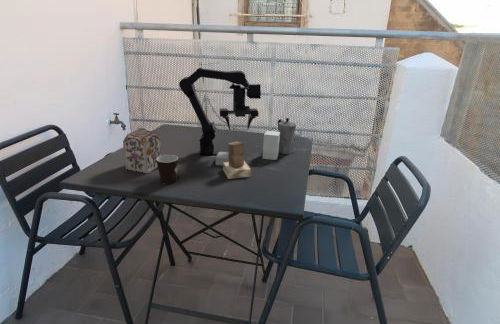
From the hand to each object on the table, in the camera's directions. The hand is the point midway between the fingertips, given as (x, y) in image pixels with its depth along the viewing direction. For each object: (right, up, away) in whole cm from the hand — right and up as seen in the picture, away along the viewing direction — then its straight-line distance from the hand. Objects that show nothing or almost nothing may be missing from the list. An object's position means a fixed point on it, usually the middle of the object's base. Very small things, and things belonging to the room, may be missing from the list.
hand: (238, 129), depth 166 cm
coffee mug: (-27, -24, -26) cm, 45 cm away
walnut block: (0, -18, -19) cm, 26 cm away
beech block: (0, -22, -17) cm, 28 cm away
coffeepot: (+24, -10, +12) cm, 29 cm away
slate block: (-6, -17, -6) cm, 19 cm away
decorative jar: (-42, -19, -15) cm, 48 cm away
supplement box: (+16, -14, +3) cm, 21 cm away
